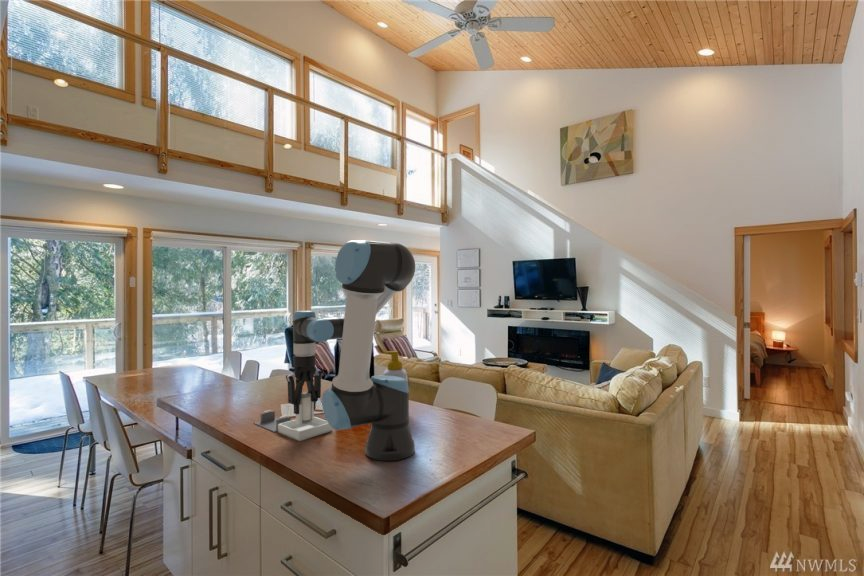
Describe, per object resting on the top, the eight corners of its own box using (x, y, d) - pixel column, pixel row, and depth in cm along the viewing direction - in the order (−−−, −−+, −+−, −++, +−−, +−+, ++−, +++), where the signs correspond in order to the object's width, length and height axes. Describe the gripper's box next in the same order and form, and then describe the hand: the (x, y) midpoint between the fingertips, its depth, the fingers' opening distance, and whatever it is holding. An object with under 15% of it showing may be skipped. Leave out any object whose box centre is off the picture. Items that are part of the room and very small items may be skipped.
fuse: (313, 421, 151) (313, 393, 151) (303, 424, 148) (303, 395, 148) (306, 419, 154) (306, 391, 154) (296, 422, 150) (296, 393, 150)
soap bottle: (384, 411, 174) (384, 349, 174) (406, 411, 174) (406, 349, 174) (382, 418, 165) (382, 353, 165) (406, 418, 166) (405, 353, 165)
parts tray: (332, 430, 151) (332, 422, 151) (299, 441, 141) (299, 432, 141) (310, 423, 160) (310, 415, 160) (277, 432, 150) (277, 424, 150)
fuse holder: (297, 426, 156) (297, 414, 156) (274, 433, 150) (274, 420, 150) (276, 418, 166) (275, 407, 166) (253, 424, 159) (253, 412, 159)
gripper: (318, 350, 160) (319, 413, 160) (276, 356, 146) (276, 425, 147) (331, 352, 155) (331, 417, 155) (288, 359, 142) (288, 429, 142)
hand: (304, 421), depth 151 cm, fingers closed on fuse, 4 cm apart
